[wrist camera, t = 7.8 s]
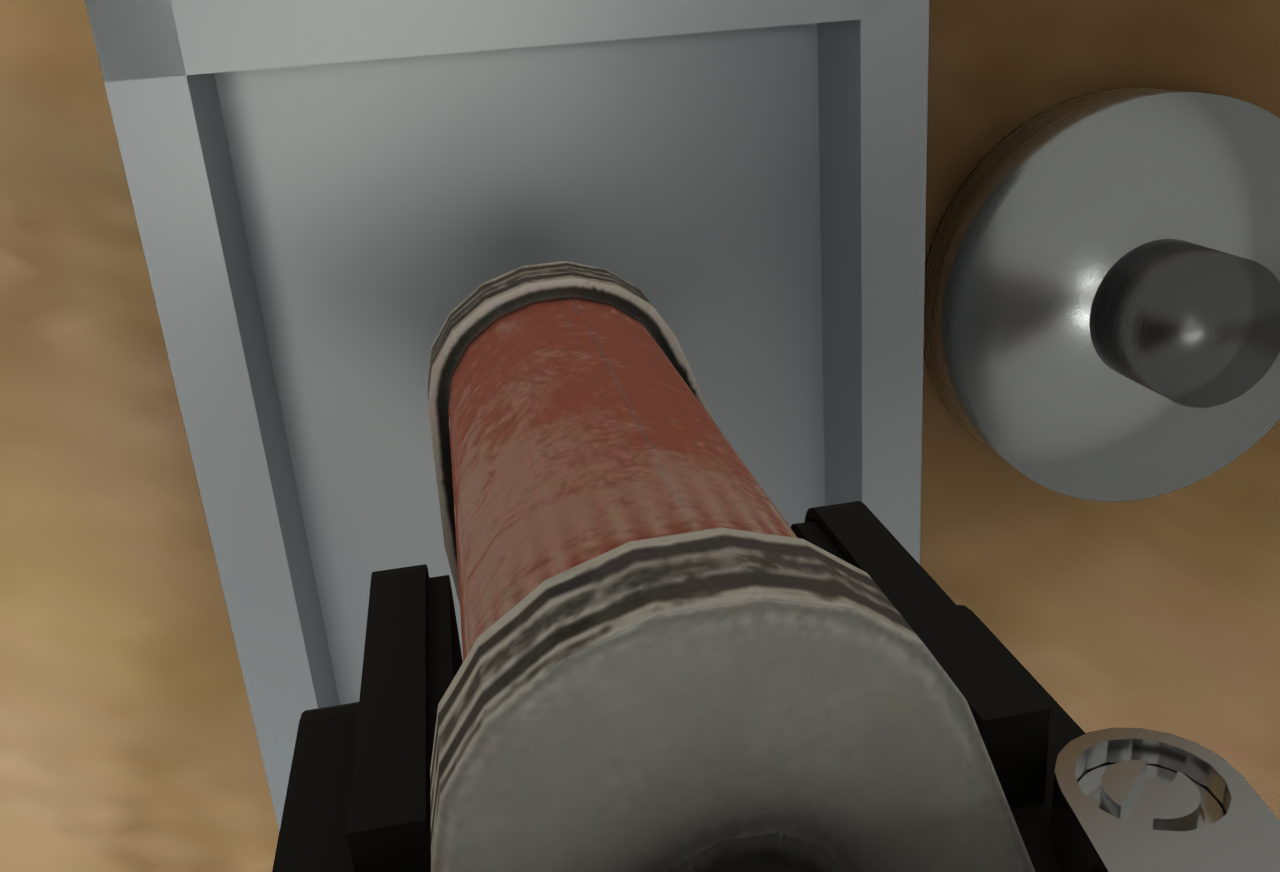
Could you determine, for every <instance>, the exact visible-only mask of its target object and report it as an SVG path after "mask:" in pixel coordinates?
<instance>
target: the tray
mask: <svg viewBox="0 0 1280 872" xmlns="http://www.w3.org/2000/svg"><path fill="white" fill-rule="evenodd" d="M85 2H86V6H87V11H88V15H89V19H90V24H91V28H92V32H93V36H94V41H95V45H96V49H97V54H98V58H99V62H100V66H101V71H102V75H103V79H104V83H105V88H106V92H107V96H108V101H109V105H110V109H111V113H112V118H113V122H114V126H115V131H116V135H117V139H118V143H119V148H120V152H121V156H122V161H123V165H124V169H125V173H126V178H127V182H128V186H129V190H130V195H131V199H132V203H133V208H134V212H135V216H136V220H137V225H138V229H139V233H140V238H141V242H142V246H143V250H144V255H145V259H146V263H147V267H148V272H149V276H150V280H151V285H152V289H153V293H154V297H155V302H156V306H157V310H158V315H159V319H160V323H161V327H162V332H163V336H164V340H165V344H166V349H167V353H168V357H169V362H170V366H171V370H172V374H173V379H174V383H175V387H176V392H177V396H178V400H179V404H180V409H181V413H182V417H183V421H184V426H185V430H186V434H187V439H188V443H189V447H190V451H191V456H192V460H193V464H194V469H195V473H196V477H197V481H198V486H199V490H200V494H201V498H202V503H203V507H204V511H205V516H206V520H207V524H208V528H209V533H210V537H211V541H212V546H213V550H214V554H215V558H216V563H217V567H218V571H219V575H220V580H221V584H222V588H223V593H224V597H225V601H226V605H227V610H228V614H229V618H230V623H231V627H232V631H233V635H234V640H235V644H236V648H237V652H238V657H239V661H240V665H241V670H242V674H243V678H244V682H245V687H246V691H247V695H248V700H249V704H250V708H251V712H252V717H253V721H254V725H255V729H256V734H257V738H258V742H259V747H260V751H261V755H262V759H263V764H264V768H265V772H266V777H267V781H268V785H269V789H270V794H271V798H272V802H273V806H274V811H275V815H276V819H277V824H278V828H279V832H280V826H281V821H282V815H283V809H284V804H285V798H286V793H287V787H288V782H289V776H290V770H291V765H292V759H293V754H294V748H295V742H296V737H297V731H298V726H299V721H300V718H301V714H302V713H303V712H304V711H305V710H311V709H318V708H324V707H330V706H336V705H342V704H348V703H355V702H359V699H360V689H361V678H362V668H363V658H364V647H365V637H366V626H367V616H368V606H369V595H370V585H371V575H372V572H375V571H382V570H389V569H396V568H403V567H410V566H417V565H423V564H427V568H428V572H429V577H430V578H431V577H438V576H445V575H449V577H450V582H451V587H452V594H453V600H454V607H455V614H456V620H457V627H458V633H459V640H460V647H461V653H462V660H463V649H462V632H461V615H460V604H459V600H458V596H457V593H456V589H455V585H454V581H453V577H452V573H451V569H450V565H449V561H448V558H447V554H446V550H445V546H444V537H443V529H442V521H441V512H440V504H439V495H438V487H437V479H436V470H435V462H434V453H433V445H432V436H431V428H430V420H429V411H428V375H429V366H430V356H431V347H432V345H433V343H434V341H435V339H436V337H437V335H438V334H439V332H440V330H441V328H442V326H443V324H444V322H445V321H446V319H447V317H448V315H449V313H450V312H451V311H452V310H453V309H454V308H455V307H456V306H457V305H459V304H460V303H461V302H462V301H463V300H464V299H465V298H466V297H468V296H469V295H470V294H471V293H472V292H473V291H474V290H475V289H476V288H478V287H479V286H480V285H481V284H483V283H485V282H487V281H489V280H492V279H494V278H496V277H498V276H501V275H503V274H505V273H507V272H510V271H512V270H514V269H516V268H518V267H521V266H527V265H535V264H543V263H552V262H560V261H568V262H573V263H578V264H583V265H589V266H594V267H599V268H604V269H607V270H608V271H610V272H612V273H614V274H615V275H617V276H619V277H620V278H622V279H624V280H625V281H627V282H629V283H631V284H632V285H634V286H636V287H637V288H639V289H640V291H641V292H642V293H643V294H644V296H645V297H646V298H647V299H648V301H649V302H650V303H651V304H652V306H653V307H654V308H655V309H656V311H657V312H658V313H659V315H660V316H661V317H662V319H663V320H664V321H665V322H666V324H667V325H668V326H669V328H670V329H671V330H672V332H673V333H674V334H675V336H676V337H677V339H678V342H679V344H680V346H681V348H682V350H683V353H684V355H685V357H686V359H687V361H688V364H689V366H690V368H691V370H692V372H693V374H694V377H695V379H696V381H697V383H698V385H699V388H700V390H701V392H702V394H703V396H704V399H705V401H706V403H707V405H708V407H709V409H710V412H711V414H712V416H713V418H714V420H715V423H716V425H717V427H718V428H719V430H720V431H721V432H722V434H723V435H724V436H725V438H726V439H727V441H728V442H729V443H730V445H731V446H732V448H733V449H734V450H735V452H736V453H737V454H738V456H739V457H740V459H741V460H742V461H743V463H744V464H745V466H746V467H747V468H748V470H749V471H750V472H751V474H752V475H753V477H754V478H755V479H756V481H757V482H758V484H759V485H760V486H761V488H762V489H763V490H764V492H765V493H766V495H767V496H768V497H769V499H770V500H771V502H772V503H773V504H774V506H775V507H776V508H777V510H778V511H779V513H780V514H781V515H782V517H783V518H784V520H785V521H786V522H787V524H788V525H789V526H790V528H791V526H792V524H797V523H803V522H805V516H806V512H807V510H808V509H809V508H814V507H821V506H827V505H834V504H841V503H848V502H855V501H861V502H862V503H864V504H865V505H866V506H867V507H868V508H869V510H870V511H871V512H872V513H873V514H874V515H875V516H876V517H877V518H878V519H879V521H880V522H881V523H882V524H883V525H884V526H885V527H886V528H887V529H888V530H889V532H890V533H891V534H892V535H893V536H894V537H895V538H896V539H897V540H898V541H899V543H900V544H901V545H902V546H903V547H904V548H905V549H906V550H907V551H908V552H909V554H910V555H911V556H912V557H913V558H914V559H915V560H916V561H917V562H918V563H919V565H920V525H921V466H922V407H923V348H924V288H925V229H926V170H927V110H928V51H929V0H85Z"/></svg>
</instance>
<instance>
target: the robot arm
mask: <svg viewBox="0 0 1280 872" xmlns="http://www.w3.org/2000/svg"><path fill="white" fill-rule="evenodd" d="M791 529H792V531H793V532H794V533H795V535H796V536H797V538H801V539H804V540H806V541H808V542H810V543H812V544H814V545H816V546H817V547H819V548H821V549H823V550H825V551H827V552H829V553H831V554H832V555H834V556H836V557H838V558H840V559H842V560H844V561H846V562H848V563H849V564H851V565H853V566H855V567H857V568H859V569H861V570H863V571H864V572H866V573H868V575H869V576H870V577H871V578H872V580H873V581H874V582H875V583H876V585H877V586H878V587H879V588H880V590H881V591H882V592H883V593H884V595H885V596H886V597H887V598H888V600H889V601H890V602H891V603H892V605H893V606H894V607H895V608H896V610H897V611H898V612H899V613H900V615H901V616H902V617H903V618H904V620H905V621H906V622H907V623H908V624H909V626H910V627H911V628H912V629H913V631H914V632H915V633H916V634H917V636H918V637H919V638H920V639H921V641H922V642H923V643H924V644H925V646H926V647H927V648H928V650H929V651H930V652H931V654H932V655H933V656H934V658H935V659H936V660H937V662H938V663H939V664H940V665H941V667H942V668H943V669H944V671H945V672H946V673H947V675H948V676H949V677H950V679H951V680H952V681H953V683H954V684H955V685H956V687H957V688H958V689H959V691H960V692H961V693H962V695H963V696H964V697H965V699H966V700H967V702H968V705H969V707H970V710H971V712H972V715H973V717H974V720H975V722H976V725H977V727H978V730H979V732H980V735H981V737H982V740H983V742H984V745H985V747H986V750H987V752H988V755H989V757H990V760H991V762H992V765H993V767H994V770H995V772H996V775H997V777H998V780H999V782H1000V785H1001V787H1002V790H1003V792H1004V795H1005V797H1006V800H1007V802H1008V805H1009V807H1010V810H1011V812H1012V815H1013V817H1014V820H1015V822H1016V825H1017V827H1018V830H1019V832H1020V835H1021V837H1022V840H1023V842H1024V845H1025V847H1026V850H1027V852H1028V855H1029V857H1030V860H1031V862H1032V865H1033V867H1034V870H1035V872H1280V821H1279V819H1278V818H1277V817H1276V816H1275V815H1274V813H1273V812H1272V811H1271V810H1270V809H1269V807H1268V806H1267V805H1266V804H1265V803H1264V801H1263V800H1262V799H1261V798H1260V797H1259V795H1258V794H1257V793H1256V792H1255V791H1254V789H1253V788H1252V787H1251V786H1250V785H1249V783H1248V782H1247V781H1246V780H1245V779H1244V777H1243V776H1242V775H1241V774H1240V773H1239V772H1238V771H1237V770H1236V769H1234V768H1233V767H1232V766H1231V765H1230V764H1229V763H1228V762H1227V761H1226V760H1225V759H1223V758H1222V757H1220V756H1219V755H1217V754H1215V753H1213V752H1212V751H1210V750H1208V749H1206V748H1205V747H1203V746H1201V745H1199V744H1198V743H1195V742H1192V741H1189V740H1186V739H1184V738H1181V737H1178V736H1175V735H1172V734H1169V733H1164V732H1159V731H1153V730H1148V729H1142V728H1109V729H1103V730H1098V731H1093V732H1088V733H1086V734H1085V732H1084V731H1083V730H1082V729H1081V728H1080V727H1079V726H1078V725H1077V724H1076V723H1075V722H1074V721H1073V719H1072V718H1071V717H1070V716H1069V715H1068V714H1067V713H1066V712H1065V711H1064V710H1063V709H1062V708H1061V707H1060V705H1059V704H1058V703H1057V702H1056V701H1055V700H1054V699H1053V698H1052V697H1051V696H1050V695H1049V694H1048V693H1047V691H1046V690H1045V689H1044V688H1043V687H1042V686H1041V685H1040V684H1039V683H1038V682H1037V681H1036V680H1035V678H1034V677H1033V676H1032V675H1031V674H1030V673H1029V672H1028V671H1027V670H1026V669H1025V668H1024V667H1023V666H1022V664H1021V663H1020V662H1019V661H1018V660H1017V659H1016V658H1015V657H1014V656H1013V655H1012V654H1011V653H1010V652H1009V650H1008V649H1007V648H1006V647H1005V646H1004V645H1003V644H1002V643H1001V642H1000V641H999V640H998V639H997V637H996V636H995V635H994V634H993V633H992V632H991V631H990V630H989V629H988V628H987V627H986V626H985V625H984V623H983V622H982V621H981V620H980V619H979V618H978V617H977V616H976V615H975V614H974V613H973V612H972V611H971V610H969V609H968V608H967V607H965V606H961V605H956V604H955V603H954V602H953V601H952V600H951V599H950V598H949V596H948V595H947V594H946V593H945V592H944V591H943V590H942V589H941V588H940V587H939V585H938V584H937V583H936V582H935V581H934V580H933V579H932V578H931V577H930V576H929V574H928V573H927V572H926V571H925V570H924V569H923V568H922V567H921V566H920V565H919V563H918V562H917V561H916V560H915V559H914V558H913V557H912V556H911V555H910V554H909V552H908V551H907V550H906V549H905V548H904V547H903V546H902V545H901V544H900V543H899V541H898V540H897V539H896V538H895V537H894V536H893V535H892V534H891V533H890V532H889V530H888V529H887V528H886V527H885V526H884V525H883V524H882V523H881V522H880V521H879V519H878V518H877V517H876V516H875V515H874V514H873V513H872V512H871V511H870V510H869V508H868V507H867V506H866V505H865V504H864V503H862V502H861V501H855V502H848V503H841V504H834V505H827V506H821V507H814V508H809V509H808V510H807V512H806V516H805V522H803V523H797V524H792V526H791ZM462 663H463V660H462V653H461V647H460V640H459V633H458V627H457V620H456V614H455V607H454V600H453V594H452V587H451V582H450V577H449V575H445V576H438V577H431V578H430V577H429V572H428V568H427V564H423V565H417V566H410V567H403V568H396V569H389V570H382V571H375V572H372V575H371V585H370V595H369V606H368V616H367V626H366V637H365V647H364V658H363V668H362V678H361V689H360V699H359V702H355V703H348V704H342V705H336V706H330V707H324V708H318V709H311V710H305V711H304V712H303V713H302V714H301V718H300V721H299V726H298V731H297V737H296V742H295V748H294V754H293V759H292V765H291V770H290V776H289V782H288V787H287V793H286V798H285V804H284V809H283V815H282V821H281V826H280V832H279V837H278V843H277V849H276V854H275V860H274V865H273V871H272V872H431V797H430V768H431V760H432V752H433V744H434V735H435V727H436V719H437V710H438V704H439V702H440V701H441V699H442V697H443V696H444V694H445V692H446V691H447V689H448V687H449V685H450V684H451V682H452V680H453V679H454V677H455V675H456V674H457V672H458V670H459V669H460V667H461V665H462Z"/></svg>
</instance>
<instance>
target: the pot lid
mask: <svg viewBox="0 0 1280 872" xmlns="http://www.w3.org/2000/svg"><path fill="white" fill-rule="evenodd" d="M924 353H925V359H926V362H927V365H928V368H929V371H930V374H931V377H932V380H933V382H934V384H935V386H936V388H937V390H938V392H939V394H940V396H941V398H942V400H943V402H944V403H945V404H946V406H947V407H948V409H949V410H950V412H951V413H952V414H953V416H954V417H955V419H956V420H957V421H958V422H959V423H960V424H961V425H962V426H963V427H964V428H965V429H966V430H967V431H968V432H969V433H970V434H971V435H972V436H974V437H975V438H976V439H978V440H979V441H980V442H982V443H983V444H984V445H986V446H987V447H988V448H989V449H991V450H992V451H993V452H995V453H996V454H997V455H999V456H1000V457H1001V458H1002V459H1004V460H1005V461H1006V462H1008V463H1009V464H1010V465H1012V466H1013V467H1014V468H1016V469H1017V470H1018V471H1020V472H1021V473H1022V474H1024V475H1025V476H1026V477H1028V478H1029V479H1031V480H1033V481H1035V482H1036V483H1038V484H1040V485H1042V486H1044V487H1046V488H1048V489H1050V490H1053V491H1056V492H1059V493H1062V494H1064V495H1067V496H1071V497H1076V498H1081V499H1086V500H1092V501H1112V502H1117V501H1129V500H1139V499H1144V498H1149V497H1154V496H1158V495H1163V494H1166V493H1169V492H1172V491H1175V490H1177V489H1180V488H1183V487H1186V486H1188V485H1190V484H1193V483H1195V482H1197V481H1199V480H1201V479H1203V478H1205V477H1207V476H1209V475H1211V474H1213V473H1214V472H1216V471H1218V470H1219V469H1221V468H1223V467H1224V466H1226V465H1227V464H1229V463H1231V462H1232V461H1233V460H1235V459H1236V458H1237V457H1239V456H1240V455H1241V454H1243V453H1244V452H1245V451H1247V450H1248V449H1249V448H1251V447H1252V446H1253V445H1254V444H1255V443H1256V442H1257V441H1258V440H1259V439H1260V438H1261V437H1263V436H1264V435H1265V434H1266V433H1267V432H1268V431H1269V430H1270V429H1271V428H1272V427H1273V426H1274V425H1275V424H1276V422H1277V421H1278V420H1279V419H1280V119H1279V118H1278V117H1277V116H1275V115H1274V114H1272V113H1270V112H1268V111H1266V110H1264V109H1262V108H1260V107H1258V106H1256V105H1254V104H1252V103H1249V102H1245V101H1242V100H1239V99H1235V98H1232V97H1229V96H1223V95H1215V94H1208V93H1199V92H1188V91H1177V90H1166V89H1155V88H1144V87H1139V88H1115V89H1109V90H1103V91H1097V92H1092V93H1089V94H1086V95H1083V96H1079V97H1076V98H1073V99H1070V100H1067V101H1065V102H1063V103H1061V104H1059V105H1056V106H1054V107H1052V108H1050V109H1048V110H1046V111H1044V112H1042V113H1040V114H1039V115H1037V116H1036V117H1034V118H1032V119H1031V120H1029V121H1028V122H1026V123H1024V124H1023V125H1021V126H1020V127H1019V128H1017V129H1016V130H1015V131H1014V132H1012V133H1011V134H1010V135H1009V136H1007V137H1006V138H1005V139H1004V140H1002V141H1001V142H1000V143H999V144H998V145H997V146H996V147H995V148H994V149H993V150H992V151H991V152H990V153H989V154H988V155H987V156H986V157H985V158H984V159H983V160H982V161H981V162H980V163H979V164H978V166H977V167H976V168H975V170H974V171H973V172H972V173H971V175H970V176H969V177H968V179H967V180H966V181H965V182H964V184H963V185H962V186H961V188H960V190H959V191H958V193H957V195H956V196H955V198H954V199H953V201H952V203H951V204H950V206H949V208H948V209H947V211H946V214H945V216H944V218H943V220H942V222H941V224H940V226H939V229H938V231H937V233H936V235H935V238H934V241H933V244H932V247H931V250H930V253H929V256H928V259H927V264H926V269H925V288H924Z"/></svg>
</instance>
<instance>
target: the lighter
mask: <svg viewBox="0 0 1280 872" xmlns="http://www.w3.org/2000/svg"><path fill="white" fill-rule="evenodd" d="M428 411H429V420H430V428H431V436H432V445H433V453H434V462H435V470H436V479H437V487H438V495H439V504H440V512H441V521H442V529H443V537H444V546H445V550H446V554H447V558H448V561H449V565H450V569H451V573H452V577H453V581H454V585H455V589H456V593H457V596H458V600H459V604H460V615H461V632H462V649H463V663H462V665H461V667H460V669H459V670H458V672H457V674H456V675H455V677H454V679H453V680H452V682H451V684H450V685H449V687H448V689H447V691H446V692H445V694H444V696H443V697H442V699H441V701H440V702H439V704H438V710H437V719H436V727H435V735H434V744H433V752H432V760H431V768H430V797H431V872H1035V870H1034V867H1033V865H1032V862H1031V860H1030V857H1029V855H1028V852H1027V850H1026V847H1025V845H1024V842H1023V840H1022V837H1021V835H1020V832H1019V830H1018V827H1017V825H1016V822H1015V820H1014V817H1013V815H1012V812H1011V810H1010V807H1009V805H1008V802H1007V800H1006V797H1005V795H1004V792H1003V790H1002V787H1001V785H1000V782H999V780H998V777H997V775H996V772H995V770H994V767H993V765H992V762H991V760H990V757H989V755H988V752H987V750H986V747H985V745H984V742H983V740H982V737H981V735H980V732H979V730H978V727H977V725H976V722H975V720H974V717H973V715H972V712H971V710H970V707H969V705H968V702H967V700H966V699H965V697H964V696H963V695H962V693H961V692H960V691H959V689H958V688H957V687H956V685H955V684H954V683H953V681H952V680H951V679H950V677H949V676H948V675H947V673H946V672H945V671H944V669H943V668H942V667H941V665H940V664H939V663H938V662H937V660H936V659H935V658H934V656H933V655H932V654H931V652H930V651H929V650H928V648H927V647H926V646H925V644H924V643H923V642H922V641H921V639H920V638H919V637H918V636H917V634H916V633H915V632H914V631H913V629H912V628H911V627H910V626H909V624H908V623H907V622H906V621H905V620H904V618H903V617H902V616H901V615H900V613H899V612H898V611H897V610H896V608H895V607H894V606H893V605H892V603H891V602H890V601H889V600H888V598H887V597H886V596H885V595H884V593H883V592H882V591H881V590H880V588H879V587H878V586H877V585H876V583H875V582H874V581H873V580H872V578H871V577H870V576H869V575H868V573H866V572H864V571H863V570H861V569H859V568H857V567H855V566H853V565H851V564H849V563H848V562H846V561H844V560H842V559H840V558H838V557H836V556H834V555H832V554H831V553H829V552H827V551H825V550H823V549H821V548H819V547H817V546H816V545H814V544H812V543H810V542H808V541H806V540H804V539H801V538H797V536H796V535H795V533H794V532H793V531H792V529H791V528H790V526H789V525H788V524H787V522H786V521H785V520H784V518H783V517H782V515H781V514H780V513H779V511H778V510H777V508H776V507H775V506H774V504H773V503H772V502H771V500H770V499H769V497H768V496H767V495H766V493H765V492H764V490H763V489H762V488H761V486H760V485H759V484H758V482H757V481H756V479H755V478H754V477H753V475H752V474H751V472H750V471H749V470H748V468H747V467H746V466H745V464H744V463H743V461H742V460H741V459H740V457H739V456H738V454H737V453H736V452H735V450H734V449H733V448H732V446H731V445H730V443H729V442H728V441H727V439H726V438H725V436H724V435H723V434H722V432H721V431H720V430H719V428H718V427H717V425H716V423H715V420H714V418H713V416H712V414H711V412H710V409H709V407H708V405H707V403H706V401H705V399H704V396H703V394H702V392H701V390H700V388H699V385H698V383H697V381H696V379H695V377H694V374H693V372H692V370H691V368H690V366H689V364H688V361H687V359H686V357H685V355H684V353H683V350H682V348H681V346H680V344H679V342H678V339H677V337H676V336H675V334H674V333H673V332H672V330H671V329H670V328H669V326H668V325H667V324H666V322H665V321H664V320H663V319H662V317H661V316H660V315H659V313H658V312H657V311H656V309H655V308H654V307H653V306H652V304H651V303H650V302H649V301H648V299H647V298H646V297H645V296H644V294H643V293H642V292H641V291H640V289H639V288H637V287H636V286H634V285H632V284H631V283H629V282H627V281H625V280H624V279H622V278H620V277H619V276H617V275H615V274H614V273H612V272H610V271H608V270H607V269H604V268H599V267H594V266H589V265H583V264H578V263H573V262H568V261H560V262H552V263H543V264H535V265H527V266H521V267H518V268H516V269H514V270H512V271H510V272H507V273H505V274H503V275H501V276H498V277H496V278H494V279H492V280H489V281H487V282H485V283H483V284H481V285H480V286H479V287H478V288H476V289H475V290H474V291H473V292H472V293H471V294H470V295H469V296H468V297H466V298H465V299H464V300H463V301H462V302H461V303H460V304H459V305H457V306H456V307H455V308H454V309H453V310H452V311H451V312H450V313H449V315H448V317H447V319H446V321H445V322H444V324H443V326H442V328H441V330H440V332H439V334H438V335H437V337H436V339H435V341H434V343H433V345H432V347H431V356H430V366H429V375H428Z"/></svg>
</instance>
